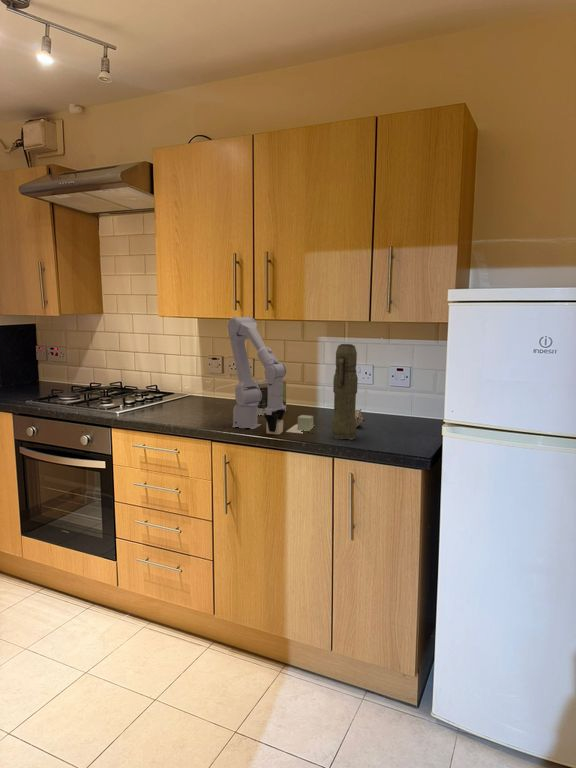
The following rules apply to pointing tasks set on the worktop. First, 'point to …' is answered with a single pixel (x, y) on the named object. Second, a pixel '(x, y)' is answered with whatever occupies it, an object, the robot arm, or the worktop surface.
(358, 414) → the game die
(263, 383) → the tea box
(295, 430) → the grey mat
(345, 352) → the stone moai statue
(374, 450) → the worktop surface
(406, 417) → the worktop surface
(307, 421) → the pale green cube
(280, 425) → the cream brick
